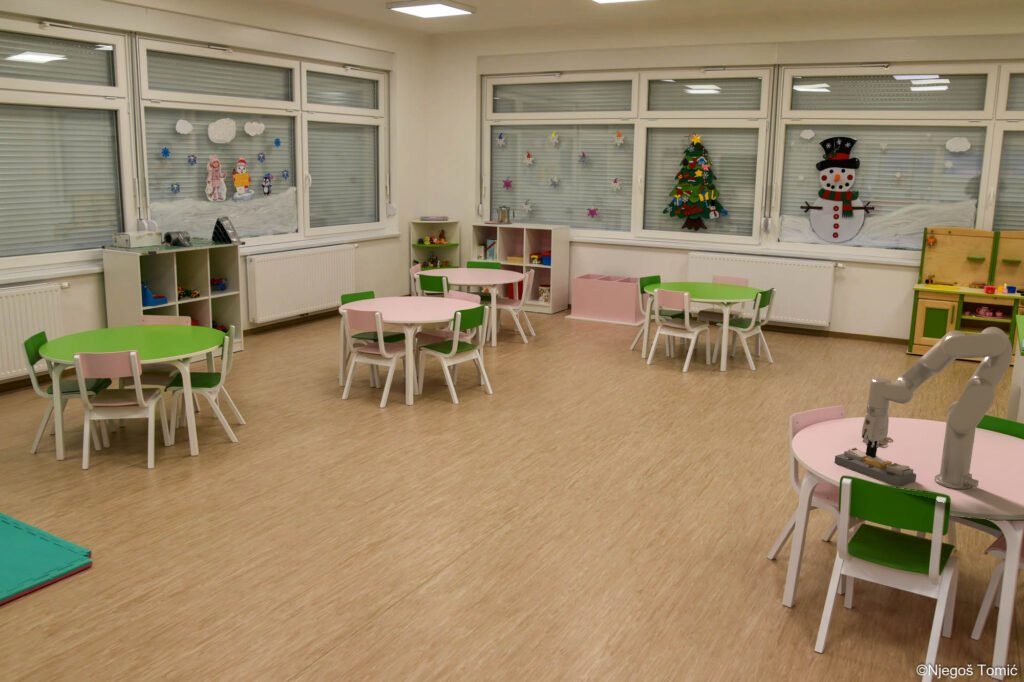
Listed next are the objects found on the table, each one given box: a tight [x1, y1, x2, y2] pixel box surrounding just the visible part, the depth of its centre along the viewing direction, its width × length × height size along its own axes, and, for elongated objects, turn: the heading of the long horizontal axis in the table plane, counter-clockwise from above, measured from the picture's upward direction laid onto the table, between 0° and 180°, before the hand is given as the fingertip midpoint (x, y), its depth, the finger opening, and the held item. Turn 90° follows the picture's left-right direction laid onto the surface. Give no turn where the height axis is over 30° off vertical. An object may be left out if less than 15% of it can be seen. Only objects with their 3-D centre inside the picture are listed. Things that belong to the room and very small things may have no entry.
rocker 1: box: [848, 447, 866, 456], centre depth 329 cm, size 6×4×1 cm
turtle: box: [879, 436, 894, 446], centre depth 354 cm, size 16×10×10 cm, turn 156°
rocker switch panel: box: [834, 449, 917, 488], centre depth 321 cm, size 28×10×4 cm, turn 32°
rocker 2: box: [890, 464, 911, 471], centre depth 314 cm, size 6×4×1 cm
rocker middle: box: [868, 455, 889, 464], centre depth 321 cm, size 6×4×1 cm
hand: (870, 455), depth 323 cm, fingers closed
